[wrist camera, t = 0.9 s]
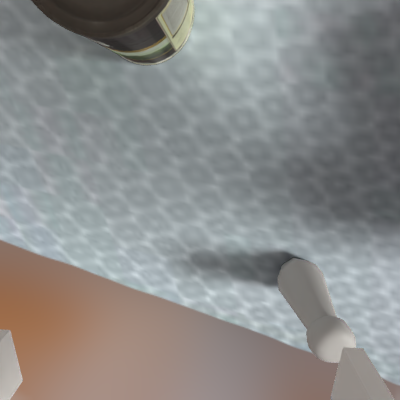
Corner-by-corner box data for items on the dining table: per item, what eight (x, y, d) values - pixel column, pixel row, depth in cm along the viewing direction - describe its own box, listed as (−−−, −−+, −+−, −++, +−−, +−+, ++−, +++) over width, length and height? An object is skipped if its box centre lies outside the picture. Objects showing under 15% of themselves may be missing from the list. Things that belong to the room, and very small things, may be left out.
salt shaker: (271, 288, 39) (300, 372, 27) (275, 251, 37) (307, 324, 25) (314, 289, 39) (362, 374, 27) (319, 252, 37) (374, 326, 25)
